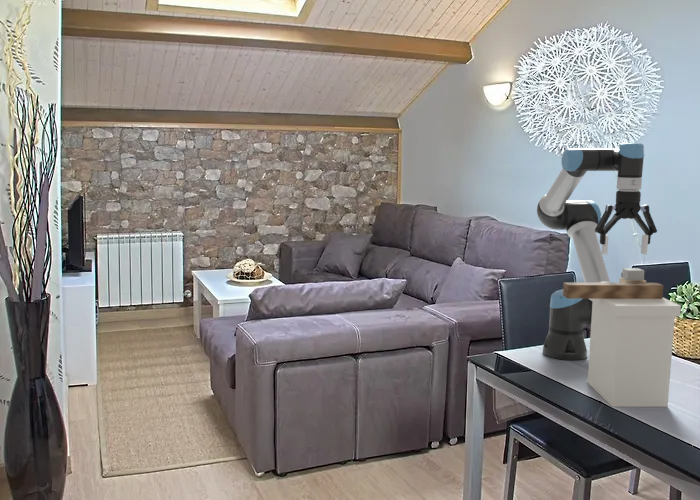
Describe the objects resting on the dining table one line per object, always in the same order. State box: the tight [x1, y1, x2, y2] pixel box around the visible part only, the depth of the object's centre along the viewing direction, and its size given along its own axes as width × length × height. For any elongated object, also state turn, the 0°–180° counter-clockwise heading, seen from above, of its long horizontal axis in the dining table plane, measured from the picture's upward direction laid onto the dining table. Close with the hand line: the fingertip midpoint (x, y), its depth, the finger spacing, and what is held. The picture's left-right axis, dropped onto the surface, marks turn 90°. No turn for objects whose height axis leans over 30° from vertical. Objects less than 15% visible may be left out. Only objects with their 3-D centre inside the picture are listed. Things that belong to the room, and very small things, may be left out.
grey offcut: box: [621, 267, 645, 280], centre depth 207 cm, size 5×4×3 cm
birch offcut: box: [618, 277, 647, 283], centre depth 208 cm, size 6×5×4 cm
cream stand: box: [587, 297, 682, 408], centre depth 203 cm, size 18×22×30 cm
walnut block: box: [562, 281, 664, 299], centre depth 200 cm, size 28×4×4 cm, turn 90°
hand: (624, 254), depth 226 cm, fingers open, 13 cm apart
